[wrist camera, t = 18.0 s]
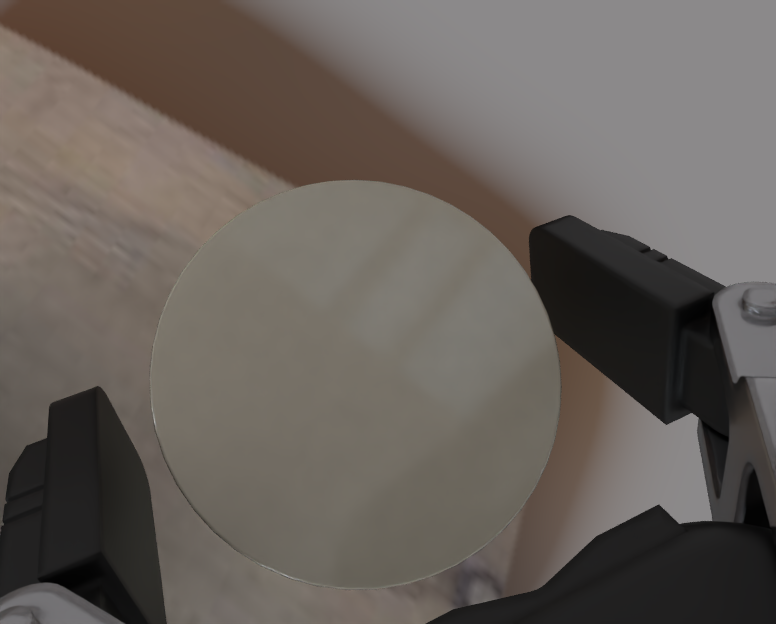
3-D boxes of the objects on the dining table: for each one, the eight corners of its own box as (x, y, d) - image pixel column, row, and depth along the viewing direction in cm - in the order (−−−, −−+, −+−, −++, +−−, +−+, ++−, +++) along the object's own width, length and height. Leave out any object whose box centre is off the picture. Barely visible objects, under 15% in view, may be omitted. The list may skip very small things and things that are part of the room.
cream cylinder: (357, 292, 21) (419, 118, 11) (467, 461, 20) (639, 431, 10) (178, 396, 19) (68, 297, 9) (289, 586, 18) (294, 691, 8)
